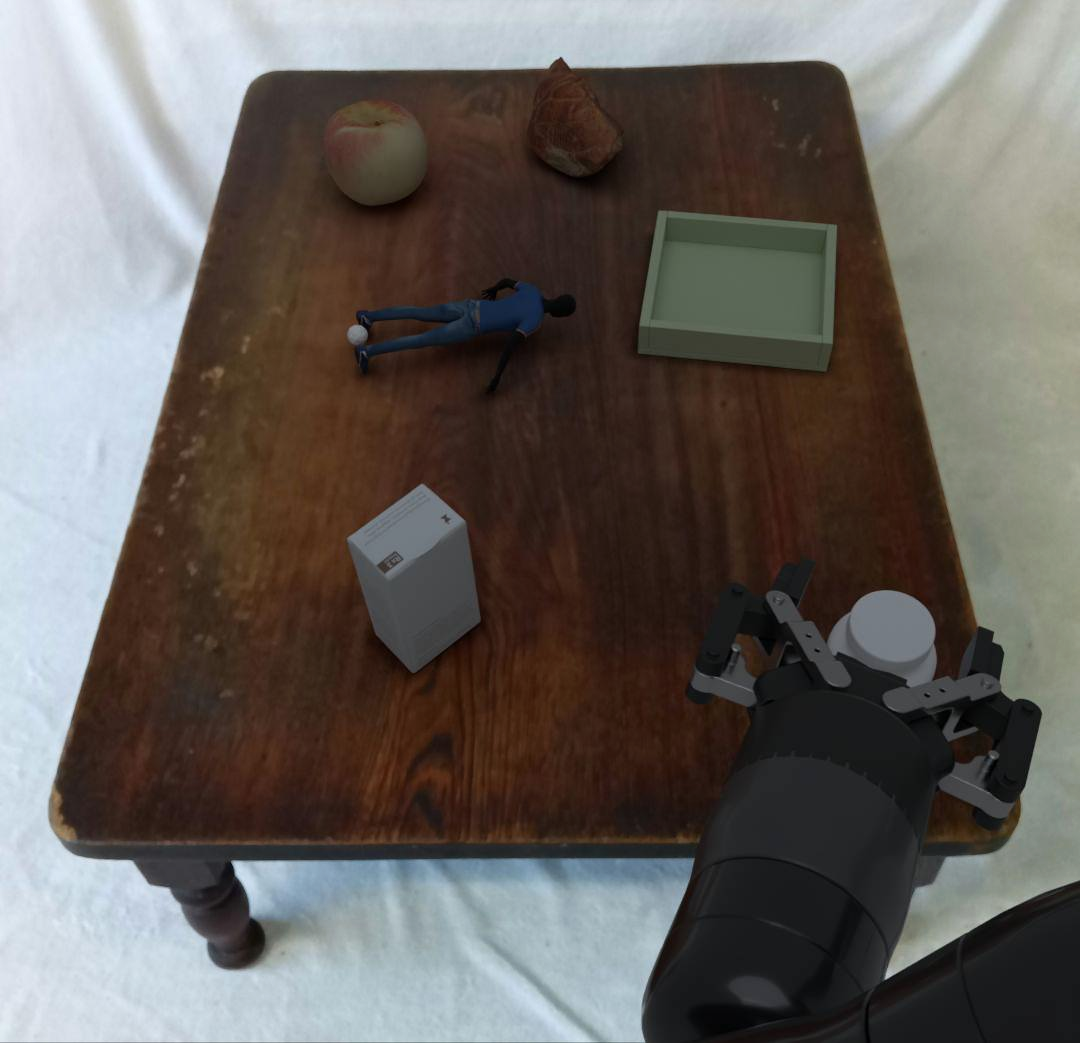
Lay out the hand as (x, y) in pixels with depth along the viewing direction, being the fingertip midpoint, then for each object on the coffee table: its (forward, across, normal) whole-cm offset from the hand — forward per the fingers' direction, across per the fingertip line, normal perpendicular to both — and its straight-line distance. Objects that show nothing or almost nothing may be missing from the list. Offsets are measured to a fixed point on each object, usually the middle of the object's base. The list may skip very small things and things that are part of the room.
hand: (889, 606), depth 56 cm
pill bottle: (+12, -2, +17) cm, 20 cm away
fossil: (+54, +38, +2) cm, 66 cm away
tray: (+42, +18, +6) cm, 46 cm away
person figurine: (+29, +36, +12) cm, 48 cm away
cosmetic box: (+6, +26, +20) cm, 33 cm away
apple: (+43, +52, +7) cm, 67 cm away
